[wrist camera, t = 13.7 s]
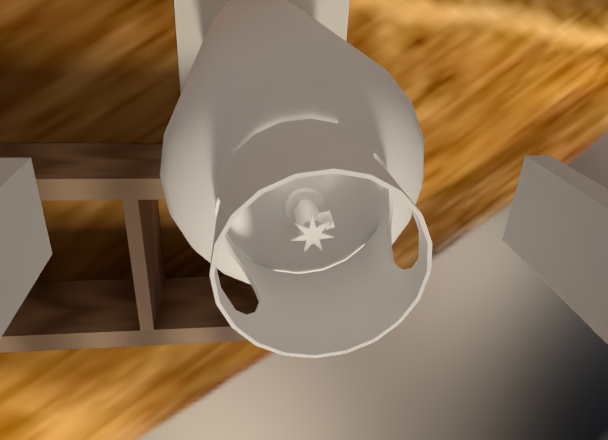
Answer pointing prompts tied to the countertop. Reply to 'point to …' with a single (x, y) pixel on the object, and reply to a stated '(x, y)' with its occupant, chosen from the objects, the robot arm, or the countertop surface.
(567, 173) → the robot arm
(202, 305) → the carrier
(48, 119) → the countertop surface
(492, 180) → the countertop surface
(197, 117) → the bottle
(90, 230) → the countertop surface
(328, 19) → the coaster
